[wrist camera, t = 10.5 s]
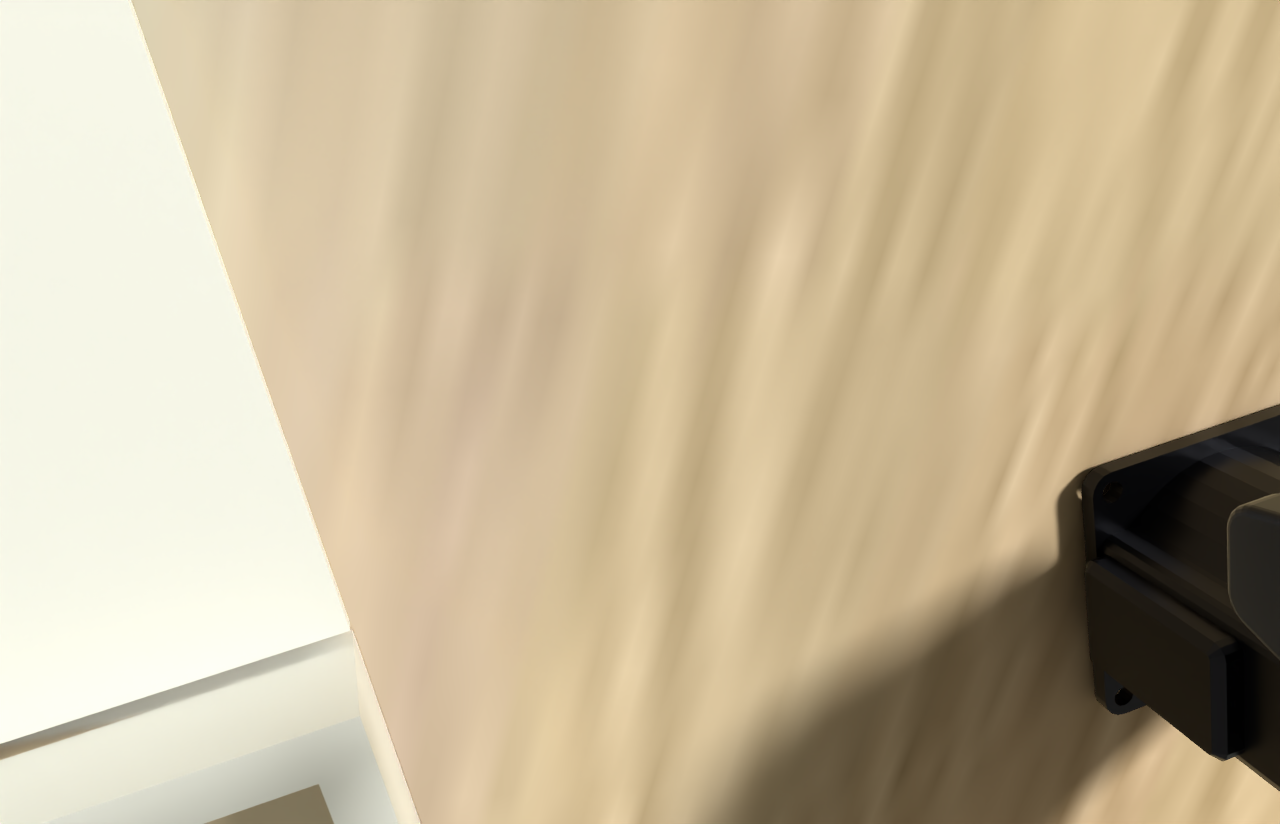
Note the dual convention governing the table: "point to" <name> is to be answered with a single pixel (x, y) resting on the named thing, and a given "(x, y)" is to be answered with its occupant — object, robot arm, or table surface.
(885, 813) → the table surface
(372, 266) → the table surface
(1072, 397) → the table surface
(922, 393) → the table surface
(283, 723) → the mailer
